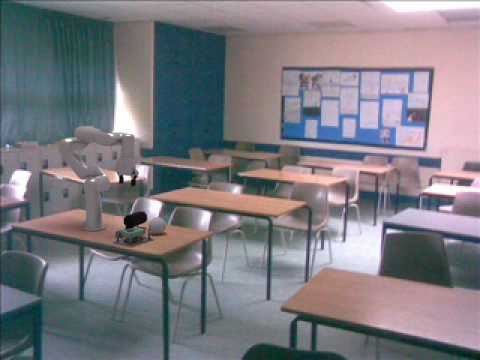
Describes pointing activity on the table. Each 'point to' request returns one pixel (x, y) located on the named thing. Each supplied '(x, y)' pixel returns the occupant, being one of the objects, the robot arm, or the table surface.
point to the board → (133, 232)
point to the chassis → (133, 239)
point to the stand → (120, 233)
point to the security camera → (135, 219)
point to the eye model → (157, 225)
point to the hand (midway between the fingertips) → (127, 184)
